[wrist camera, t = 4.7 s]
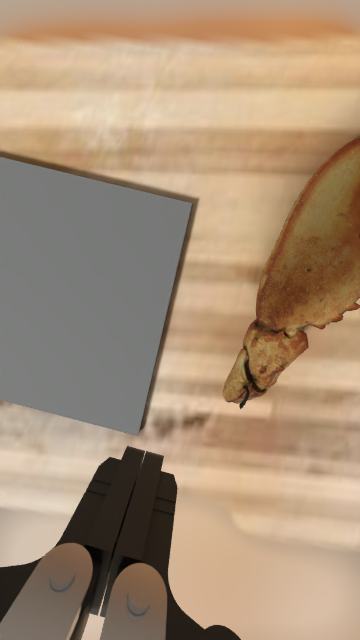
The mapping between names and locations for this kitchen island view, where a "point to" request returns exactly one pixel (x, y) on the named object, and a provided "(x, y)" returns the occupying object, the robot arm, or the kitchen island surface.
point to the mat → (83, 292)
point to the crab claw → (304, 276)
